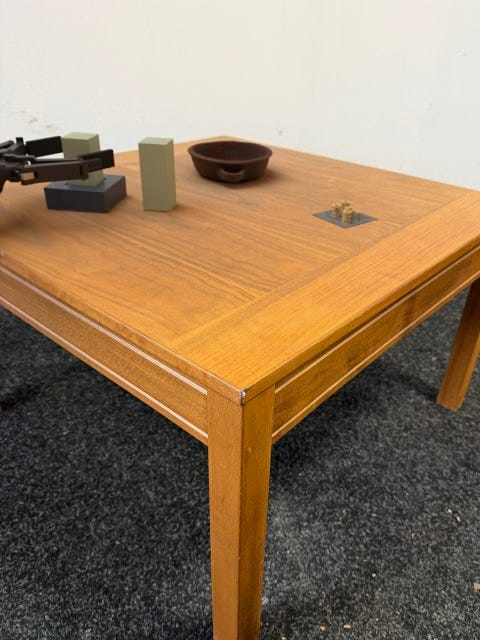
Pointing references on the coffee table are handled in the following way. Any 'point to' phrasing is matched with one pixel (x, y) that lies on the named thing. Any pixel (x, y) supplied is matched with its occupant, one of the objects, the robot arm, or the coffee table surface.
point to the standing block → (157, 173)
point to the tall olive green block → (79, 146)
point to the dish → (230, 159)
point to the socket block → (86, 195)
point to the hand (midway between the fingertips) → (86, 150)
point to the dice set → (344, 215)
